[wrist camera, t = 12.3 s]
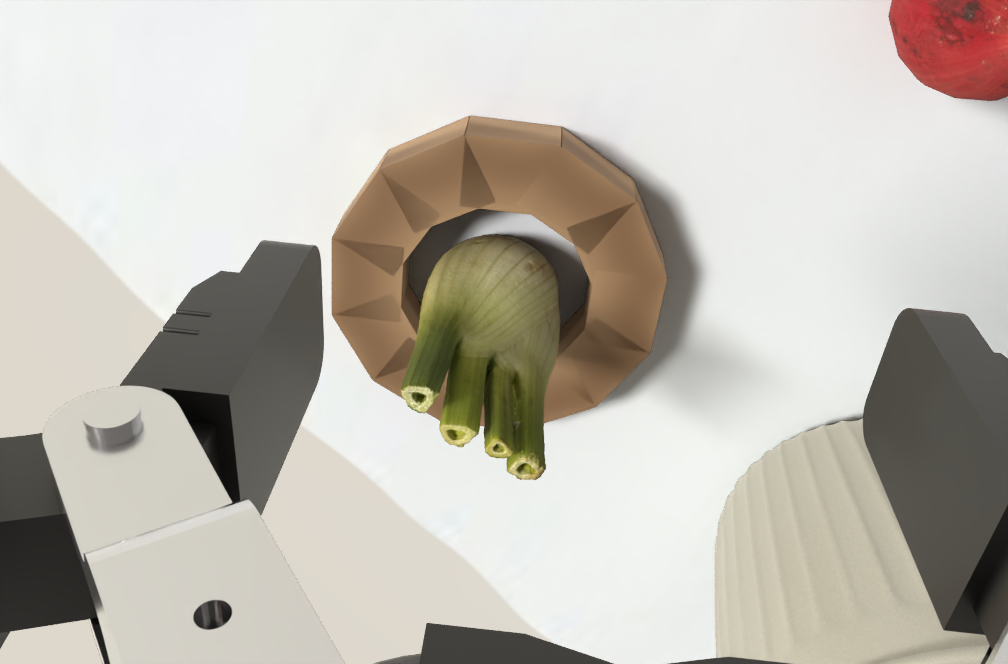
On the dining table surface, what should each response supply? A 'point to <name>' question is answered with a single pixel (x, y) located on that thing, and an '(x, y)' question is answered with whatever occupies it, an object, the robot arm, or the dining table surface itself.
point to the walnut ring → (511, 188)
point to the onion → (954, 45)
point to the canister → (823, 564)
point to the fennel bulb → (489, 347)
